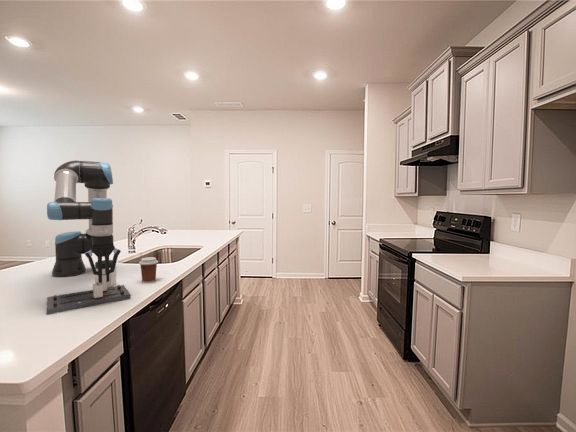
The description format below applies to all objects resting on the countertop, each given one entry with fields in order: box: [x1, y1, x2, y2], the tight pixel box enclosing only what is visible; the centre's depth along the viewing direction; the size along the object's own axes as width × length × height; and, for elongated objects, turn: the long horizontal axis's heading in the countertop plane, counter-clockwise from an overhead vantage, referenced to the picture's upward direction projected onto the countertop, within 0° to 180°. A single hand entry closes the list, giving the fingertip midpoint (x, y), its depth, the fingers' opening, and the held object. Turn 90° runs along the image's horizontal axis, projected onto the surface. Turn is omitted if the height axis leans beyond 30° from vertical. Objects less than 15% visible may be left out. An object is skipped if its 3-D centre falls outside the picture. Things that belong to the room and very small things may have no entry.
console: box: [46, 284, 131, 315], centre depth 122 cm, size 16×28×3 cm, turn 129°
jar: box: [93, 259, 117, 288], centre depth 141 cm, size 9×8×12 cm
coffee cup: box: [138, 256, 159, 284], centre depth 150 cm, size 9×9×12 cm
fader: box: [92, 282, 103, 298], centre depth 120 cm, size 4×3×6 cm
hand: (104, 289), depth 122 cm, fingers closed
